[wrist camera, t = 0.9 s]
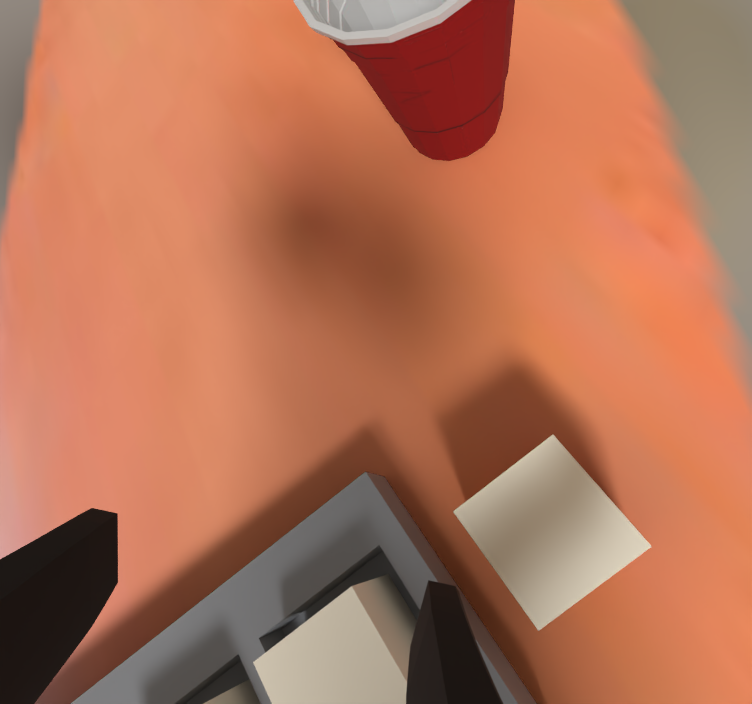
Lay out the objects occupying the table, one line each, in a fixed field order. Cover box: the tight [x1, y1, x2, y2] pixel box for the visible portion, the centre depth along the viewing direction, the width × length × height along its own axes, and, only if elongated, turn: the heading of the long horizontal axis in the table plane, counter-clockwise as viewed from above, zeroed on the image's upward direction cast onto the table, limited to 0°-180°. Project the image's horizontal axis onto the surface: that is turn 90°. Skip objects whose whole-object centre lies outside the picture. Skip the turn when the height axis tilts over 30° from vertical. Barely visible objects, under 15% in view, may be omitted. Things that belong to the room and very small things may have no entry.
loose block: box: [453, 435, 652, 631], centre depth 21 cm, size 5×5×5 cm
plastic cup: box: [294, 0, 515, 161], centre depth 27 cm, size 11×11×12 cm
